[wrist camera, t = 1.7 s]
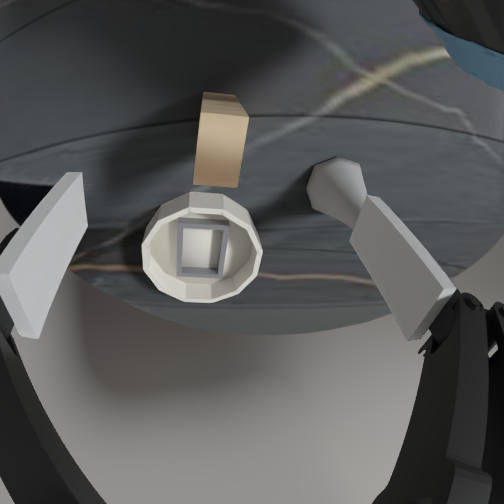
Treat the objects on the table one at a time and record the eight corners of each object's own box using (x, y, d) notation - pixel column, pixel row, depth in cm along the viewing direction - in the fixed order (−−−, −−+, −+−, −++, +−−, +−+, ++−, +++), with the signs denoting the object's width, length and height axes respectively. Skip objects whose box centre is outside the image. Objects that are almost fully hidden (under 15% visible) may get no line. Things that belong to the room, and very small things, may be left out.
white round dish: (145, 189, 31) (140, 204, 28) (265, 197, 34) (271, 213, 31) (149, 280, 39) (145, 299, 36) (246, 285, 41) (250, 303, 39)
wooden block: (203, 91, 26) (200, 112, 17) (234, 94, 26) (249, 117, 18) (197, 139, 29) (193, 184, 20) (227, 142, 29) (237, 187, 21)
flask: (304, 214, 36) (332, 269, 28) (306, 157, 31) (341, 200, 23) (358, 209, 36) (396, 259, 28) (365, 155, 32) (413, 195, 24)
